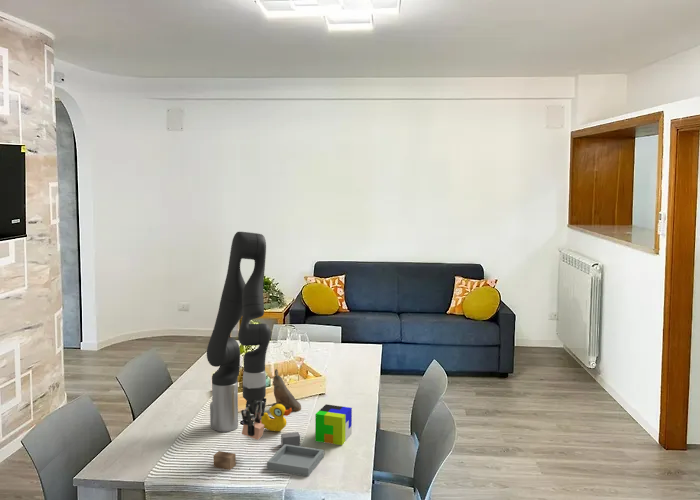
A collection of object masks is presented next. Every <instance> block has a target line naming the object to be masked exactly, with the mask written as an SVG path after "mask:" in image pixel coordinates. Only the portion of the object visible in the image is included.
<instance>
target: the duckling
mask: <svg viewBox="0 0 700 500" xmlns="http://www.w3.org/2000/svg"><path fill="white" fill-rule="evenodd" d="M268 410H269V413H270V415H269V413H268V412H264V416H261V417H262V418H261V420H260V423H261V424H263V425H264V430H268V431H270V432H280V431H282V430H284V428H285V427H286V426H287V419H286V418H285V417H287V416H290V415H291V414H292V409H291V408H290V409H289V410H286V409H285V407H284V406H283V405H282V404H276V405H274V406H273V407H269V409H268ZM270 416H271V417H273V418H270Z"/></svg>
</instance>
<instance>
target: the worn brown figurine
mask: <svg viewBox="0 0 700 500" xmlns="http://www.w3.org/2000/svg"><path fill="white" fill-rule="evenodd" d="M274 375H275V376H273V379H272V384H273V397H274V399H275V402H273V403H272V404H271V407H273V406H274V405H276V404H282V405H283V406H284V407H285V409H286V410H289V409H290V408H291V409H292V411H291V413H292V412H296V413H297V412H300V411H301V410H302V405H301V403H300V402H299V401H298V400H297V399H296V398H295V396H294V395H293V394H292V393H291V391H290V390H289V389H288V387H287V386H286V383H285V382H284V380H283V378H282V376H281V375H279V370H278V368H276V369H275V370H274ZM271 407H270V408H271Z"/></svg>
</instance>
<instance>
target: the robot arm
mask: <svg viewBox="0 0 700 500" xmlns="http://www.w3.org/2000/svg"><path fill="white" fill-rule="evenodd" d="M229 253H230V254H229V258H228V259H229V260H228V265H227V266H228V267H227V270H226V271H227V272H226V277H225V280H224V285H223V289H222V293H221V296H220V300H219V307H218V310H217V311H218V312H217V316H216V319H215V323H214V327H213V330H212V333H211V335H210V338H209V342H208V344H207V347H206V359H207V362H208V364H209V365H211V366H212V367H216V368H217V370H216V371H215V372H214V373H213V374H212V376H211V397H212V399H211V402H210V403H209V411H210V412H209V415H210V416H209V417H210V420H209V421H210V422H209V423H210V425H209V426H210V429H213V430H214V431H216V432H231V431H234V430H236V429H237V428H239V404H238V403H239V399H238V398H239V397H238V396H239V395H238V394H239V391H238V389H239V388H238V384H239V383H238V382H239V381H238V377H239V375H240V367H241V349H240V345H241V346H243V347H244V346H245V347H246V346H248V347H250V346H258V347H257V348H256V349H253V350H251V351H247V352H245V353H244V354H243V355H244V356H243V373H242V374H243V375H242V398H243V399H245V402H246V403H245V408H244V409H242V410H241V411H240V413H241V419H242V422H243V423H242V424H244V425H248V435H249V436H254V432H255V425H254V424H255V422H258V423H261V418H262V416H264V413H265V410H266V404H267V398H266V395H267V394H266V392H267V389H266V387H267V377H266V374H267V373H266V358H267V357H266V356H267V351H268V347H269V344H270V341H271V337H272V329H271V327H270V325H269V324H267V323H250V322H251V321H253V320H255V319H258V318H261V317H264V314H265V304H264V301H265V299H264V280H265V279H264V278H265V270H266V269H265V267H266V258H267V257H266V255H267V242H266V238H265V235H263V234H262V233H259V232H257V233H256V232H249V231H247V232H246V231H237V232H236V233H235V234H234V236H233V238H232V240H231V247H230V252H229ZM242 260H252V261H254V266H253V271H252V272H251V275H250V276H249V278H248V280H247V282H245V280H244V276H243V275H242V271H241V262H242ZM239 321H241V323H240V326H239V329H238V333H237V339H238V341H237V340H236V339H235V338H233V337H230V335H231V333H232V332H233V330H234V329H235V327H236V325H237V324H238V323H239ZM238 342H239V343H240V345H239V343H238Z"/></svg>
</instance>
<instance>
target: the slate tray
mask: <svg viewBox="0 0 700 500" xmlns="http://www.w3.org/2000/svg"><path fill="white" fill-rule="evenodd" d="M324 452H325V450H324V449H321V448H314V447H308V446H307V447H306V446H301V445H300V446H294V445H288V444H284V445H283V446H282V445H281V447H280V448H279V449H278V450H277V452H276V453H274V454H273V455H272V457H271V458H270V459H268V460H267V462H266V464H267V465H266V470H267V471H274V472H279V473H286V474H292V475H299V476H304V477H309V476H310V475H311V474H312V473H313V471H315V469H316V468H317V466H318V465H319V464H320V462H321V461H322V460H323V459H324V455H325V453H324Z"/></svg>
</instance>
